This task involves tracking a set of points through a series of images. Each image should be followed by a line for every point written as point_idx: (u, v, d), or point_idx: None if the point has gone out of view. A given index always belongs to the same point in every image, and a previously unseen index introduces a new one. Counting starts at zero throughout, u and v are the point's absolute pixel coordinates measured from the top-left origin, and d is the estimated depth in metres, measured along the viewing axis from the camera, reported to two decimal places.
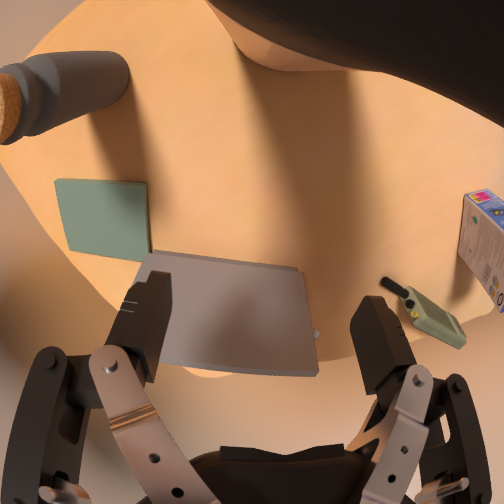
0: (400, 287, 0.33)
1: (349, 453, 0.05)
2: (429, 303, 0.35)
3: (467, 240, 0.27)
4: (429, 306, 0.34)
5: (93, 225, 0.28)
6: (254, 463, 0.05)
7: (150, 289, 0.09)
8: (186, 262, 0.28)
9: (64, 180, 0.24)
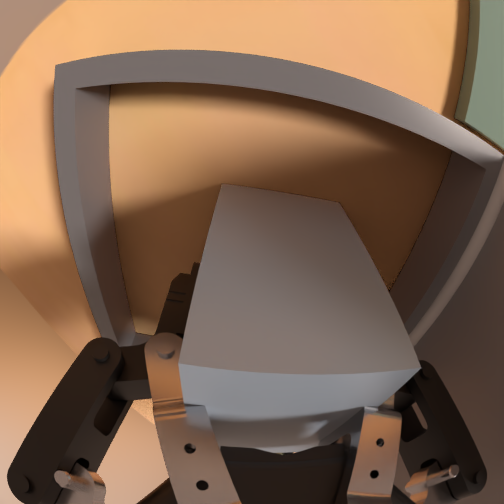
0: None
1: (322, 456, 0.05)
2: None
3: None
4: None
5: None
6: (254, 463, 0.05)
7: None
8: None
9: None
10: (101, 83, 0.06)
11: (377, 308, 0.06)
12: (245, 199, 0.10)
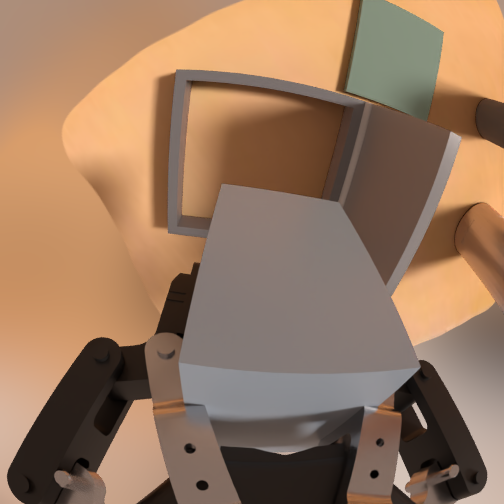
0: None
1: (322, 456, 0.05)
2: None
3: None
4: None
5: (398, 46, 0.18)
6: (254, 463, 0.05)
7: None
8: None
9: (441, 42, 0.16)
10: (198, 80, 0.20)
11: (377, 308, 0.06)
12: (245, 199, 0.10)
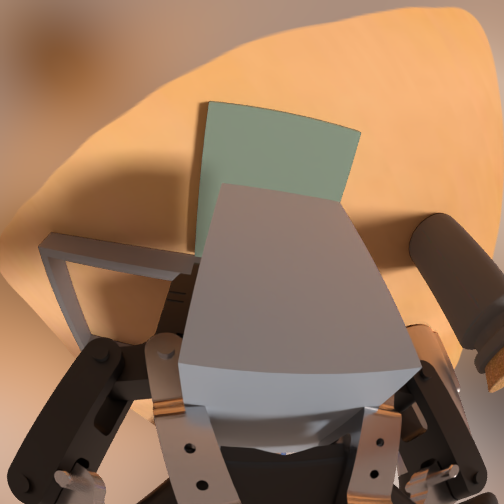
0: None
1: (322, 456, 0.05)
2: None
3: None
4: None
5: (266, 183, 0.18)
6: (254, 463, 0.05)
7: None
8: None
9: None
10: (54, 258, 0.20)
11: (378, 307, 0.06)
12: (245, 198, 0.10)
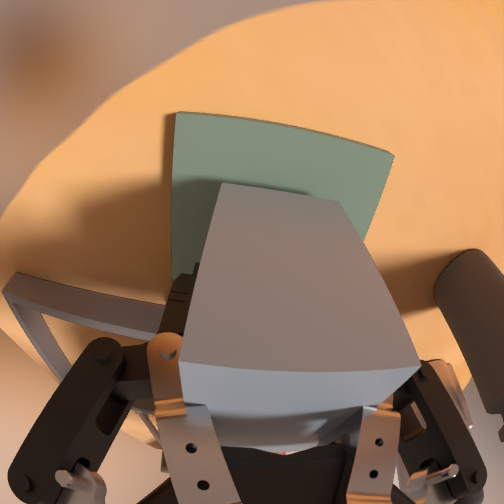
0: None
1: (321, 456, 0.05)
2: None
3: None
4: None
5: None
6: (254, 463, 0.05)
7: None
8: None
9: None
10: (19, 304, 0.15)
11: (377, 306, 0.06)
12: (245, 198, 0.10)
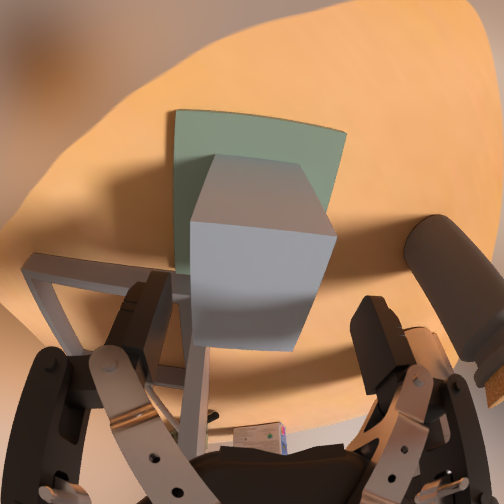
0: (211, 421, 0.40)
1: (349, 453, 0.05)
2: None
3: (250, 434, 0.43)
4: None
5: None
6: (254, 463, 0.05)
7: (150, 289, 0.09)
8: None
9: None
10: (37, 279, 0.19)
11: (310, 209, 0.11)
12: (231, 161, 0.14)
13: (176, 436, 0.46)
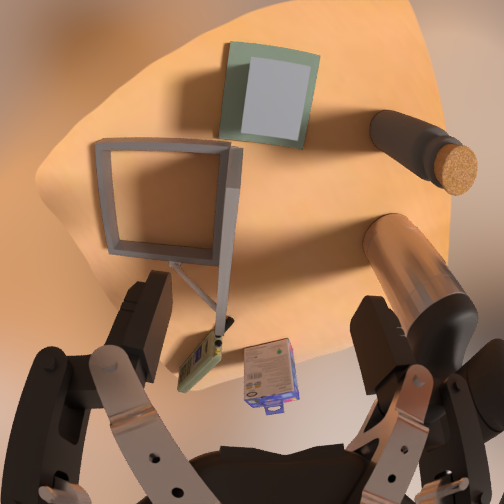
0: None
1: (349, 453, 0.05)
2: None
3: (260, 352, 0.52)
4: None
5: None
6: (254, 463, 0.05)
7: (150, 289, 0.09)
8: None
9: (317, 66, 0.25)
10: (108, 149, 0.28)
11: None
12: None
13: (189, 363, 0.55)
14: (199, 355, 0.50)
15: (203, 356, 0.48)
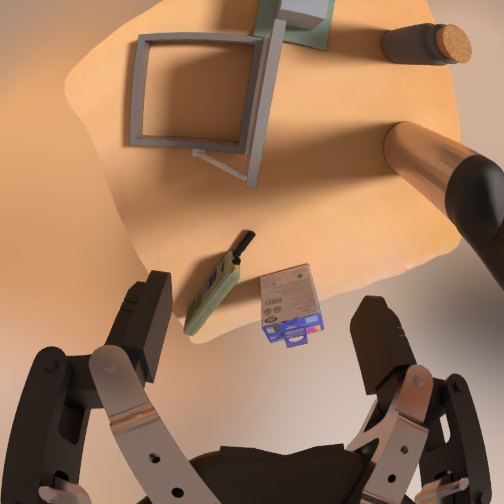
0: None
1: (349, 453, 0.05)
2: None
3: (278, 278, 0.50)
4: None
5: None
6: (254, 463, 0.05)
7: (150, 289, 0.09)
8: None
9: None
10: (151, 39, 0.26)
11: None
12: None
13: (199, 296, 0.53)
14: (213, 279, 0.48)
15: (219, 277, 0.46)
